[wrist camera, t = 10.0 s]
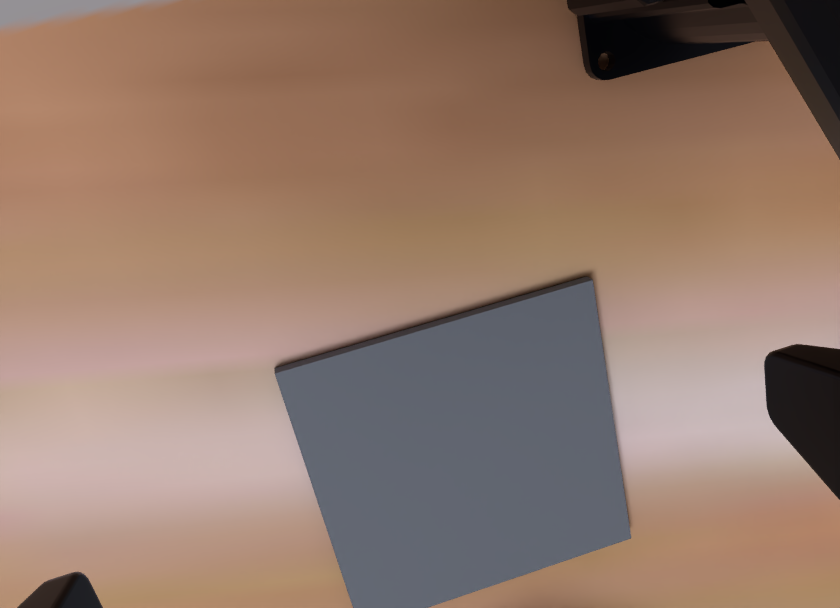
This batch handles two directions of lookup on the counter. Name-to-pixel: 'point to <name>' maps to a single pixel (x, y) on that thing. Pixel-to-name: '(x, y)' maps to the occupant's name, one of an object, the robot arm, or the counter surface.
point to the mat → (463, 448)
